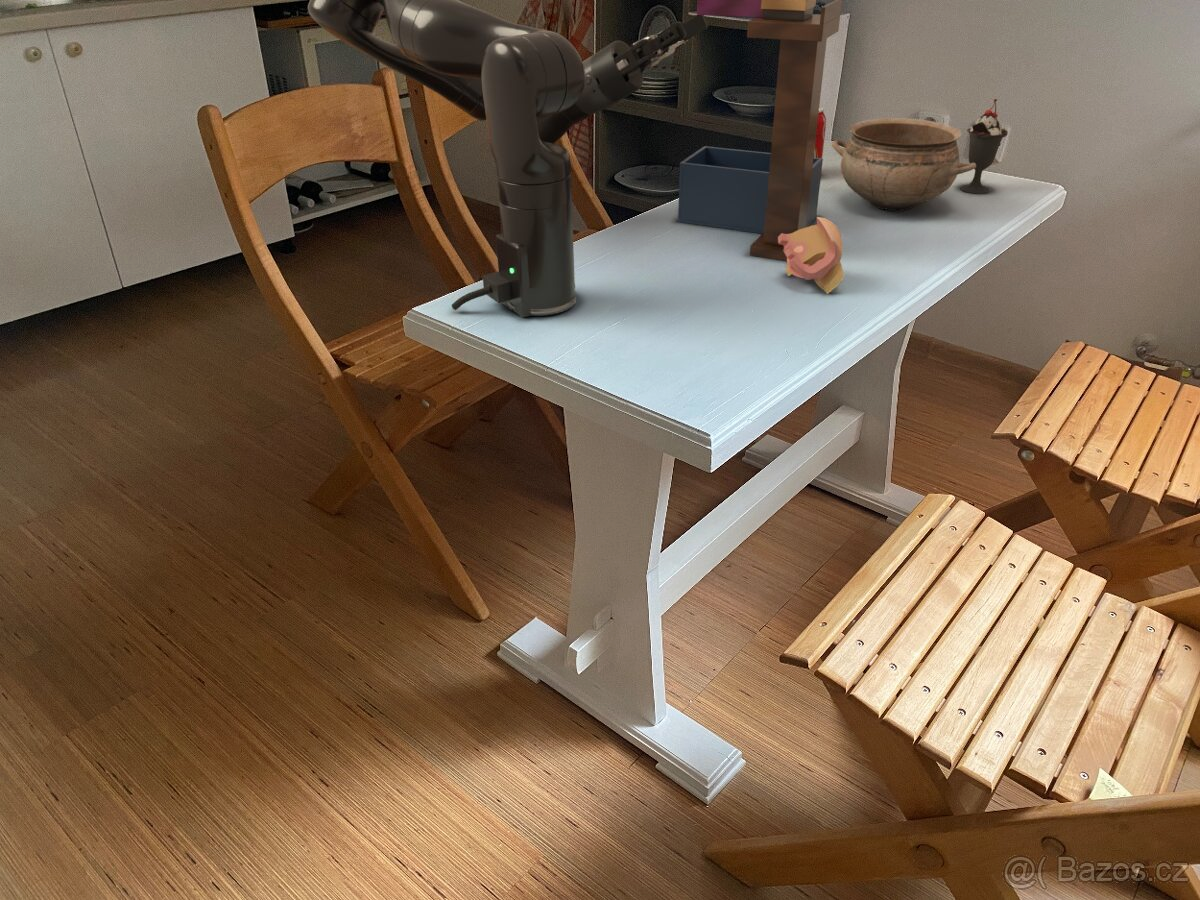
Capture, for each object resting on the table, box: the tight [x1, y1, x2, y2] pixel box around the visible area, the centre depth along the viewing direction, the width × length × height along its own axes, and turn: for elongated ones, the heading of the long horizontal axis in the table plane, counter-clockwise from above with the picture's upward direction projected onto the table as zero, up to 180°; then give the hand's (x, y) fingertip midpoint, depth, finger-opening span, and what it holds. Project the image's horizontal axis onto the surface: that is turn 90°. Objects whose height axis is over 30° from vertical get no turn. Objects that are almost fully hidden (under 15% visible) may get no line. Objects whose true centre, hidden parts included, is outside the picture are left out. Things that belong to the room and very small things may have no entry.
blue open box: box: [677, 145, 824, 235], centre depth 145 cm, size 20×11×10 cm, turn 64°
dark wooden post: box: [746, 0, 843, 262], centre depth 127 cm, size 10×9×34 cm
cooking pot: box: [831, 117, 976, 211], centre depth 150 cm, size 25×19×12 cm
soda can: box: [814, 105, 827, 158], centre depth 165 cm, size 7×7×12 cm
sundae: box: [959, 98, 1009, 195], centre depth 155 cm, size 7×7×15 cm
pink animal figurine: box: [778, 216, 845, 295], centre depth 123 cm, size 9×10×10 cm
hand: (694, 24), depth 125 cm, fingers open, 8 cm apart
